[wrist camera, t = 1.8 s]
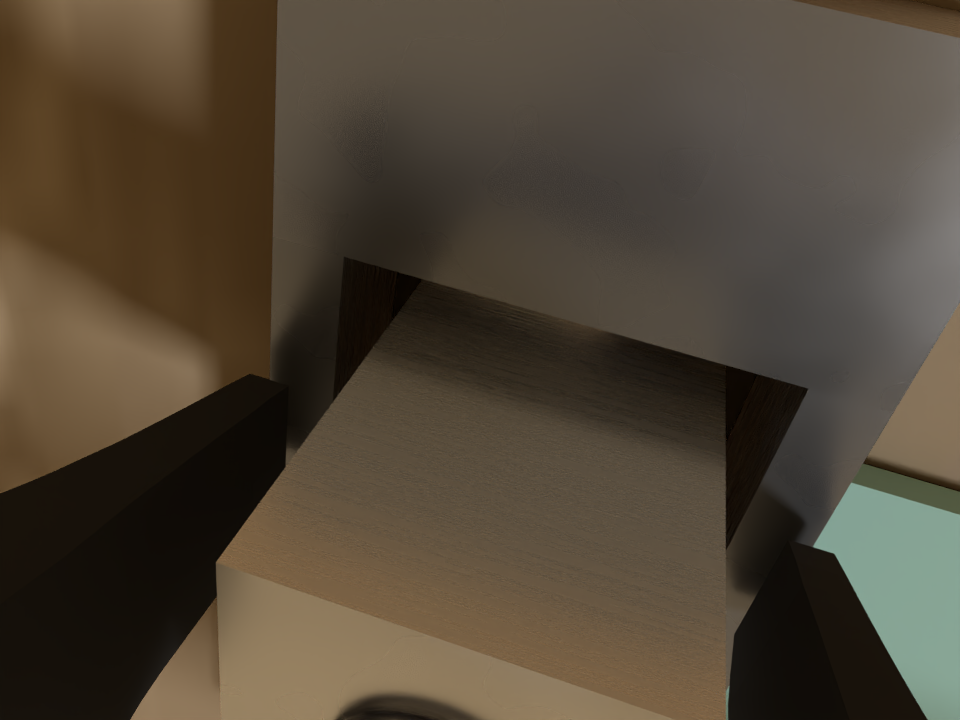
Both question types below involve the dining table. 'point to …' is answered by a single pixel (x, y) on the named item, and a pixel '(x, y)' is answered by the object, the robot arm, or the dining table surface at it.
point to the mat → (905, 577)
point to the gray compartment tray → (636, 205)
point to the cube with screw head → (490, 533)
